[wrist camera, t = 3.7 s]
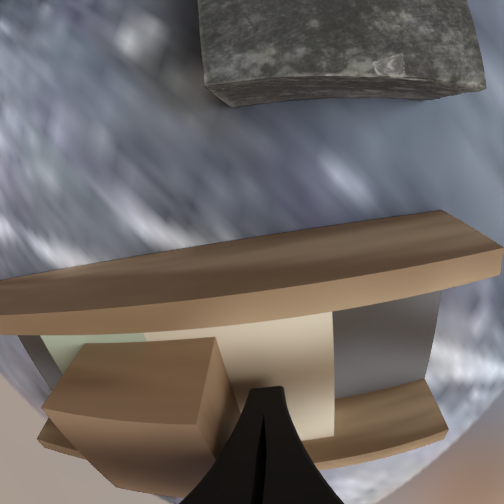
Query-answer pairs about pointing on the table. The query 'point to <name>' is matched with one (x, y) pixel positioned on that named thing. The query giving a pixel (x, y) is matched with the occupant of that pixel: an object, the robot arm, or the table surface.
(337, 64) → the stone block
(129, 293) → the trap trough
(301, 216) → the table surface
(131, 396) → the walnut block
